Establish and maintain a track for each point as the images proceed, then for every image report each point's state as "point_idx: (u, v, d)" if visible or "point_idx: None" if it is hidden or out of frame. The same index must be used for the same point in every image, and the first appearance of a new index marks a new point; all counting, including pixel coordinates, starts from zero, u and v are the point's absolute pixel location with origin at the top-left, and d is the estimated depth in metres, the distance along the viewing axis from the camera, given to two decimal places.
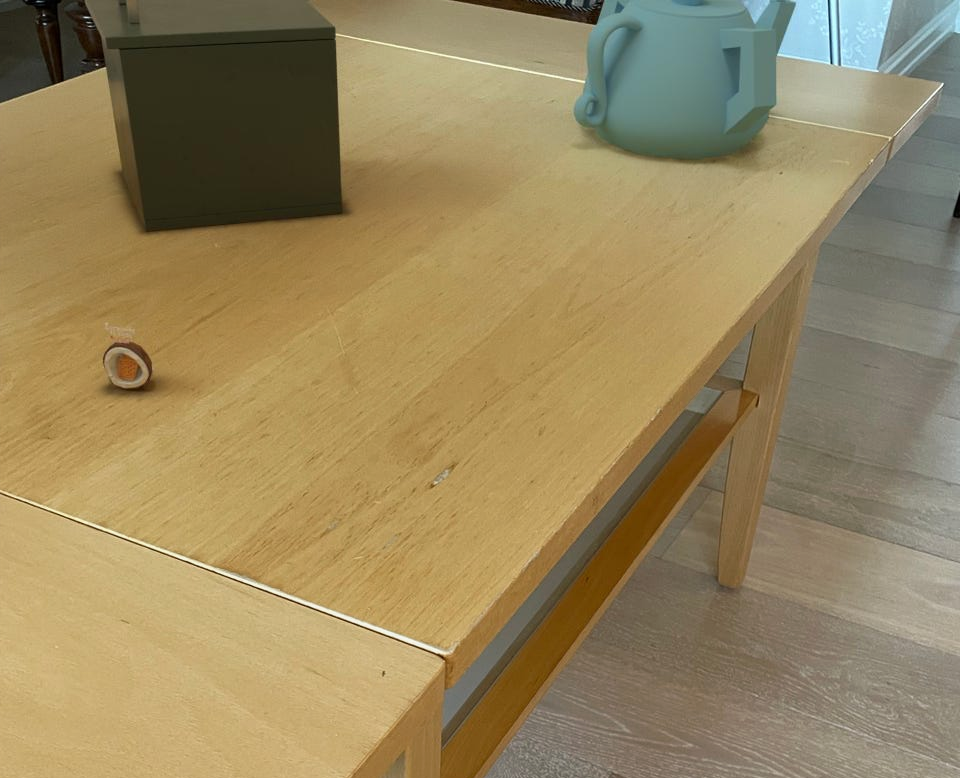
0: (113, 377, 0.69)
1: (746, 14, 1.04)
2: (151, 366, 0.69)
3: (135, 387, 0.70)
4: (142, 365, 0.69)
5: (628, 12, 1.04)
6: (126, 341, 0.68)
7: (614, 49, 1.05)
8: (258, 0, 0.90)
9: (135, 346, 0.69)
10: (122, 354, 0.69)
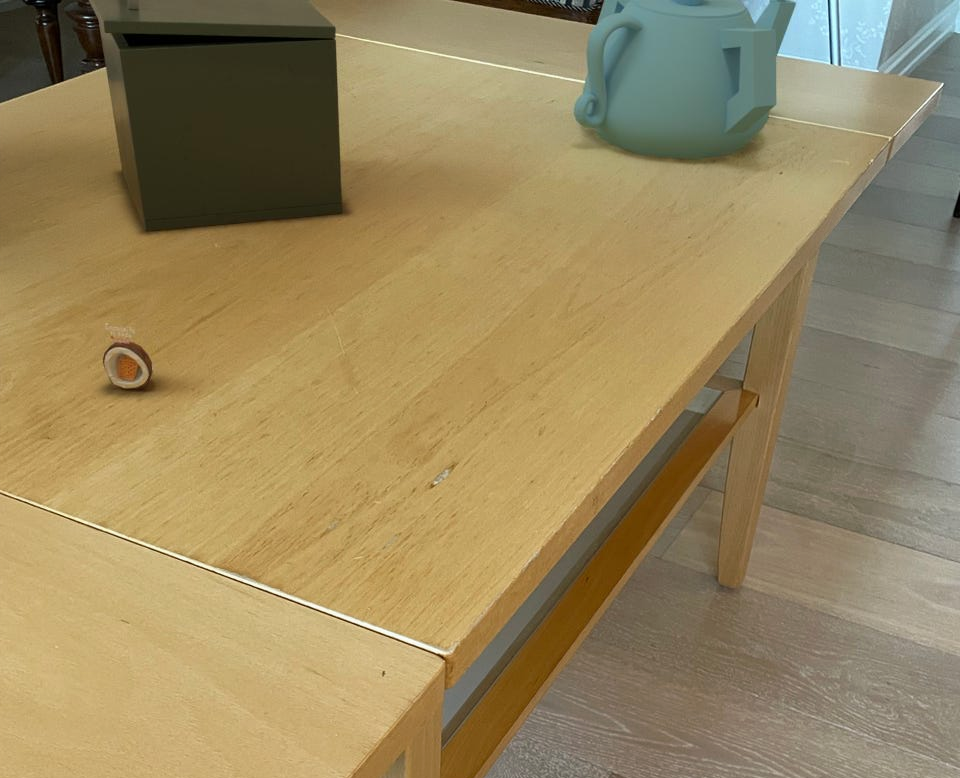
0: (113, 377, 0.69)
1: (746, 14, 1.04)
2: (151, 366, 0.69)
3: (135, 387, 0.70)
4: (142, 365, 0.69)
5: (628, 12, 1.04)
6: (126, 341, 0.68)
7: (614, 49, 1.05)
8: None
9: (135, 346, 0.69)
10: (122, 354, 0.69)
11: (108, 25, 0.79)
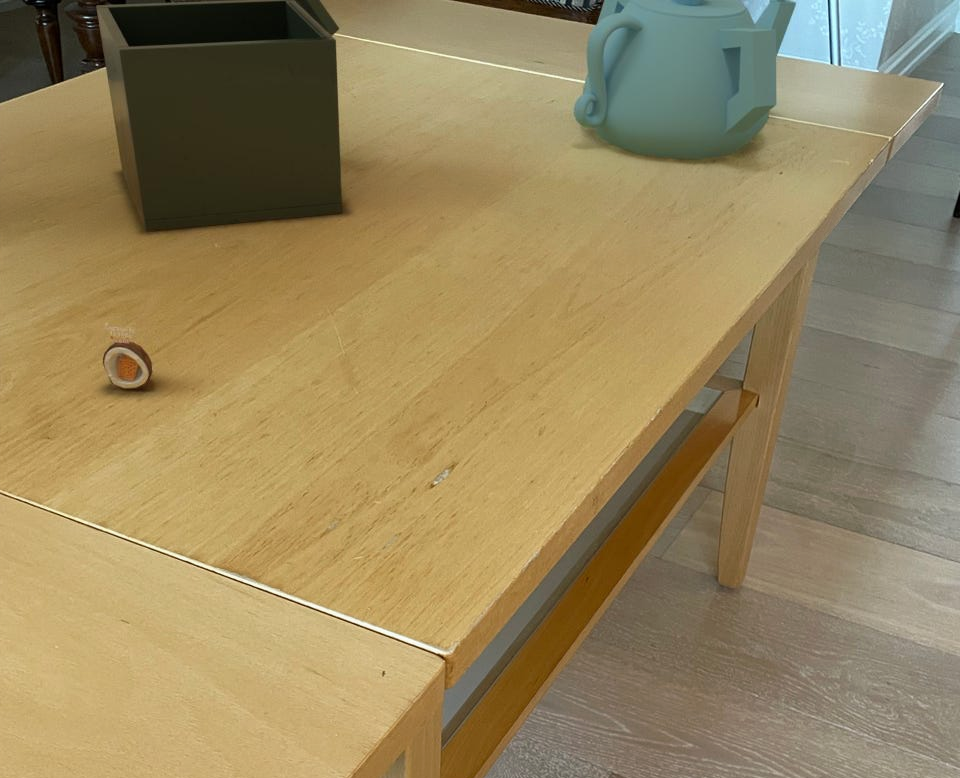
0: (113, 377, 0.69)
1: (746, 14, 1.04)
2: (151, 366, 0.69)
3: (135, 387, 0.70)
4: (142, 365, 0.69)
5: (628, 12, 1.04)
6: (126, 341, 0.68)
7: (614, 49, 1.05)
8: None
9: (135, 346, 0.69)
10: (122, 354, 0.69)
11: None
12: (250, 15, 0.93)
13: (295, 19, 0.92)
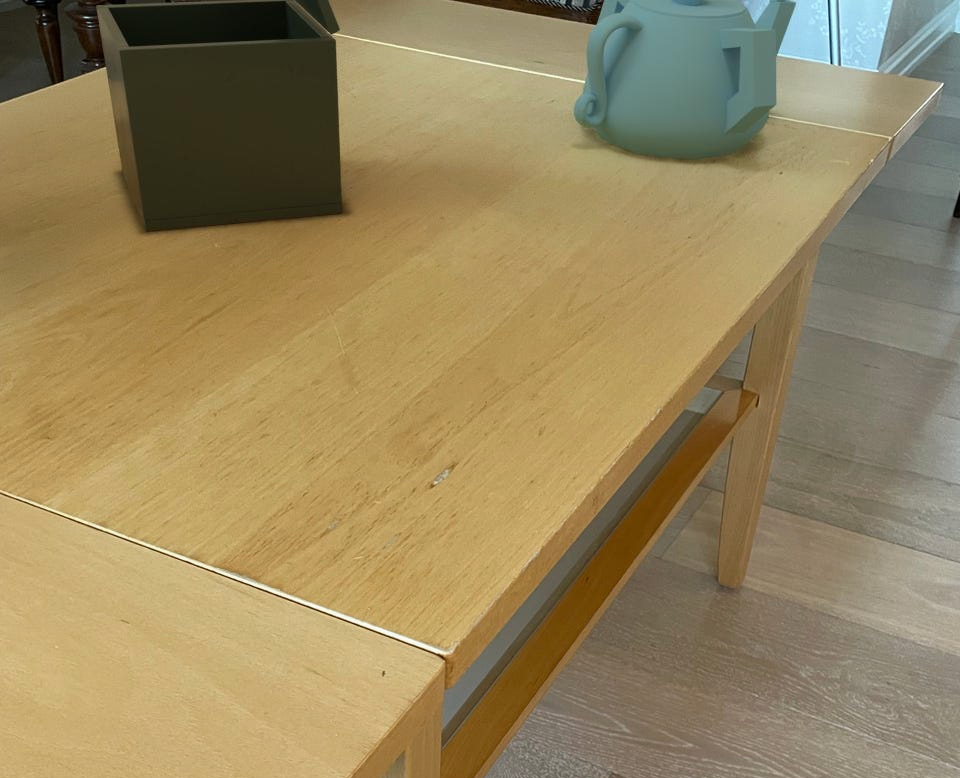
0: None
1: (746, 14, 1.04)
2: None
3: None
4: None
5: (628, 12, 1.04)
6: None
7: (614, 49, 1.05)
8: None
9: None
10: None
11: None
12: (250, 15, 0.93)
13: (295, 19, 0.92)
